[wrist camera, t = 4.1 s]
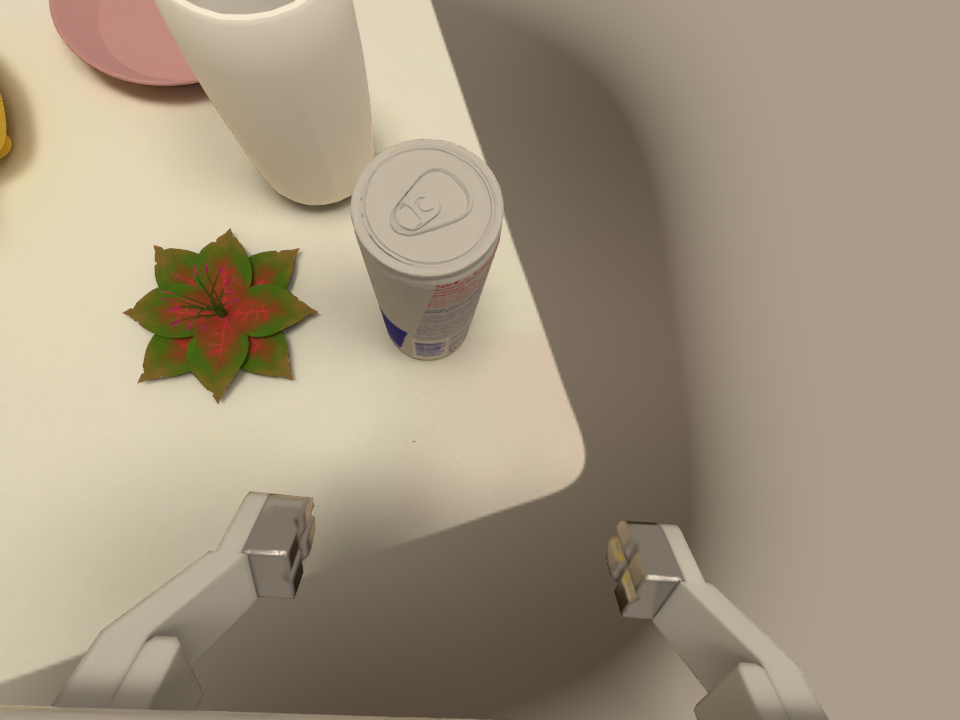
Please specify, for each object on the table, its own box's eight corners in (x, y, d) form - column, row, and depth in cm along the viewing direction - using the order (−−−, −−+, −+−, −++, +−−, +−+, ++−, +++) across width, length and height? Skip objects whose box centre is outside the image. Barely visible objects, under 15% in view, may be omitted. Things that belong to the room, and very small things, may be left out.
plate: (304, 82, 33) (296, 59, 31) (96, 126, 30) (73, 104, 28) (251, -68, 35) (241, -99, 33) (52, -39, 32) (28, -71, 30)
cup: (354, 99, 33) (301, -155, 19) (400, 194, 32) (379, -1, 18) (240, 134, 31) (92, -116, 17) (284, 235, 30) (164, 55, 16)
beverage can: (477, 295, 31) (522, 157, 16) (457, 370, 30) (487, 295, 15) (399, 273, 30) (374, 113, 16) (376, 349, 29) (326, 251, 15)
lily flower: (137, 228, 29) (85, 188, 24) (325, 232, 30) (307, 195, 26) (115, 409, 27) (52, 401, 22) (319, 404, 28) (299, 396, 24)
